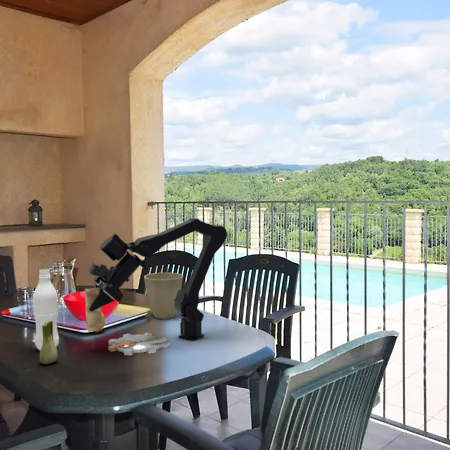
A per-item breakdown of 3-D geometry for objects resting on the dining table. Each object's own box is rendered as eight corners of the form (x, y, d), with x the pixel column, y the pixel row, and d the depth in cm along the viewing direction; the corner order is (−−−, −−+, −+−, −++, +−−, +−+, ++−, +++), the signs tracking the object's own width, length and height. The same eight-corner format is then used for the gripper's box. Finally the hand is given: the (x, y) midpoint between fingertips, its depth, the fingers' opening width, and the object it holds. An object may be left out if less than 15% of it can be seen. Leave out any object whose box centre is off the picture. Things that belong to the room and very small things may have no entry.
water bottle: (63, 346, 167) (61, 268, 164) (49, 353, 160) (46, 272, 158) (45, 344, 169) (42, 267, 167) (29, 351, 162) (27, 271, 160)
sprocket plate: (180, 342, 170) (180, 338, 170) (141, 358, 154) (141, 354, 154) (137, 333, 181) (136, 329, 180) (95, 348, 165) (95, 343, 165)
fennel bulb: (51, 358, 155) (49, 318, 154) (62, 361, 153) (61, 320, 152) (35, 364, 150) (33, 323, 149) (47, 367, 148) (45, 325, 147)
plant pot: (136, 318, 200) (135, 277, 199) (161, 310, 213) (160, 271, 212) (167, 323, 193) (167, 280, 191) (191, 314, 205) (190, 274, 204)
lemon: (101, 335, 179) (100, 312, 178) (86, 334, 180) (85, 311, 179) (108, 330, 184) (107, 308, 183) (93, 329, 185) (92, 307, 184)
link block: (99, 326, 165) (98, 287, 164) (102, 330, 161) (100, 290, 160) (86, 328, 163) (84, 288, 162) (88, 331, 159) (87, 291, 158)
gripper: (98, 250, 170) (65, 286, 167) (110, 257, 153) (73, 298, 150) (123, 272, 174) (91, 308, 171) (138, 281, 157) (102, 322, 154)
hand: (88, 308), depth 161 cm, fingers closed on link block, 4 cm apart
